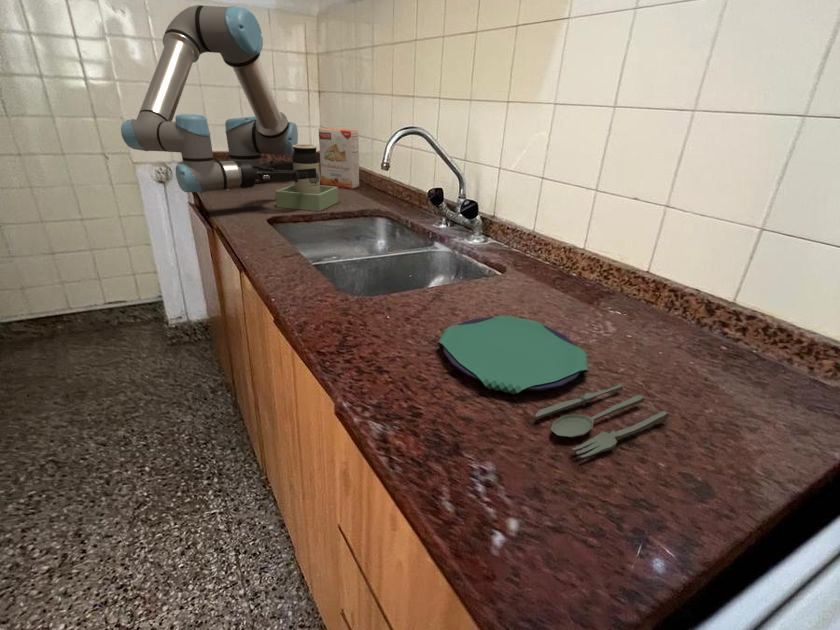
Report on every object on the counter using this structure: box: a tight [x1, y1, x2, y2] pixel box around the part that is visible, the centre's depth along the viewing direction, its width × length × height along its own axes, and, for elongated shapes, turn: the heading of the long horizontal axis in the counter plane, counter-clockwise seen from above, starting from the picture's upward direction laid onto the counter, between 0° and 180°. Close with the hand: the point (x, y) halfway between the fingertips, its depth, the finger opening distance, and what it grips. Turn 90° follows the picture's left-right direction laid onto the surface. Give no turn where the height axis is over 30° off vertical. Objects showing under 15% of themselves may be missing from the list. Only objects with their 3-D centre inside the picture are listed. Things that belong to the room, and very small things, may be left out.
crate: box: [274, 183, 340, 212], centre depth 145 cm, size 15×15×5 cm
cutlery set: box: [437, 315, 670, 460], centre depth 60 cm, size 20×30×2 cm, turn 28°
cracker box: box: [318, 127, 360, 190], centre depth 171 cm, size 14×6×21 cm, turn 67°
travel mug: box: [292, 144, 321, 194], centre depth 142 cm, size 8×8×18 cm
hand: (304, 169), depth 141 cm, fingers open, 13 cm apart
